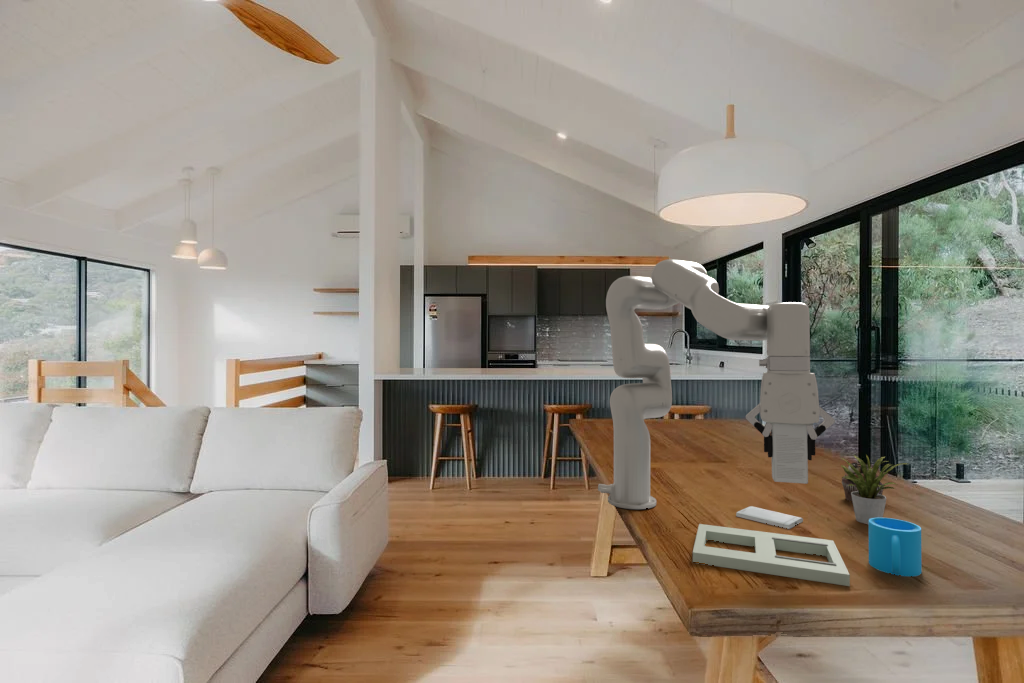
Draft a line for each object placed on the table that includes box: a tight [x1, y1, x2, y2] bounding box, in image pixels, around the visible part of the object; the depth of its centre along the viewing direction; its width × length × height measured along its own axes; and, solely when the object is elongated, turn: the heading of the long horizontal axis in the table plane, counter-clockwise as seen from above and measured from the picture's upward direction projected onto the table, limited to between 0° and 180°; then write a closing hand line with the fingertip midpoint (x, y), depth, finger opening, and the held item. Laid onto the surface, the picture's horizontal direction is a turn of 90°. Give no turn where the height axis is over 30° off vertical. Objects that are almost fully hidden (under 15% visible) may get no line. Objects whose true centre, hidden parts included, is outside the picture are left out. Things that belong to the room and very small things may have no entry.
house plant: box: [840, 454, 909, 525], centre depth 129 cm, size 14×14×16 cm
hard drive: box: [735, 505, 804, 530], centre depth 131 cm, size 2×8×12 cm
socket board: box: [692, 523, 851, 587], centre depth 107 cm, size 26×18×2 cm
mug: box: [868, 517, 923, 577], centre depth 101 cm, size 12×8×8 cm
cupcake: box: [841, 462, 884, 503], centre depth 146 cm, size 10×10×10 cm
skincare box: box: [770, 424, 809, 485], centre depth 106 cm, size 6×4×12 cm
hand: (789, 456), depth 106 cm, fingers closed on skincare box, 6 cm apart
